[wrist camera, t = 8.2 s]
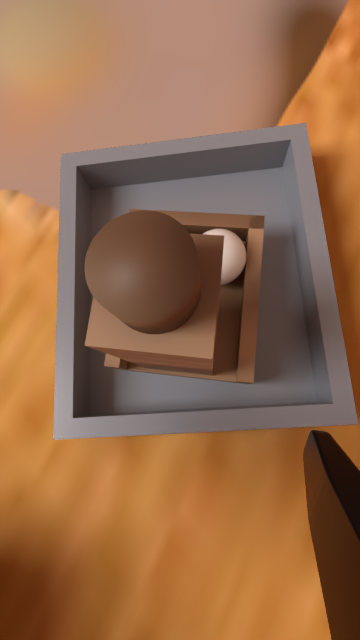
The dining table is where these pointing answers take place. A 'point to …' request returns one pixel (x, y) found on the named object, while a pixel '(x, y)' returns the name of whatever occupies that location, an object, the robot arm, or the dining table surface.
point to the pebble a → (230, 255)
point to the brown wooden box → (174, 295)
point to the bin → (274, 299)
